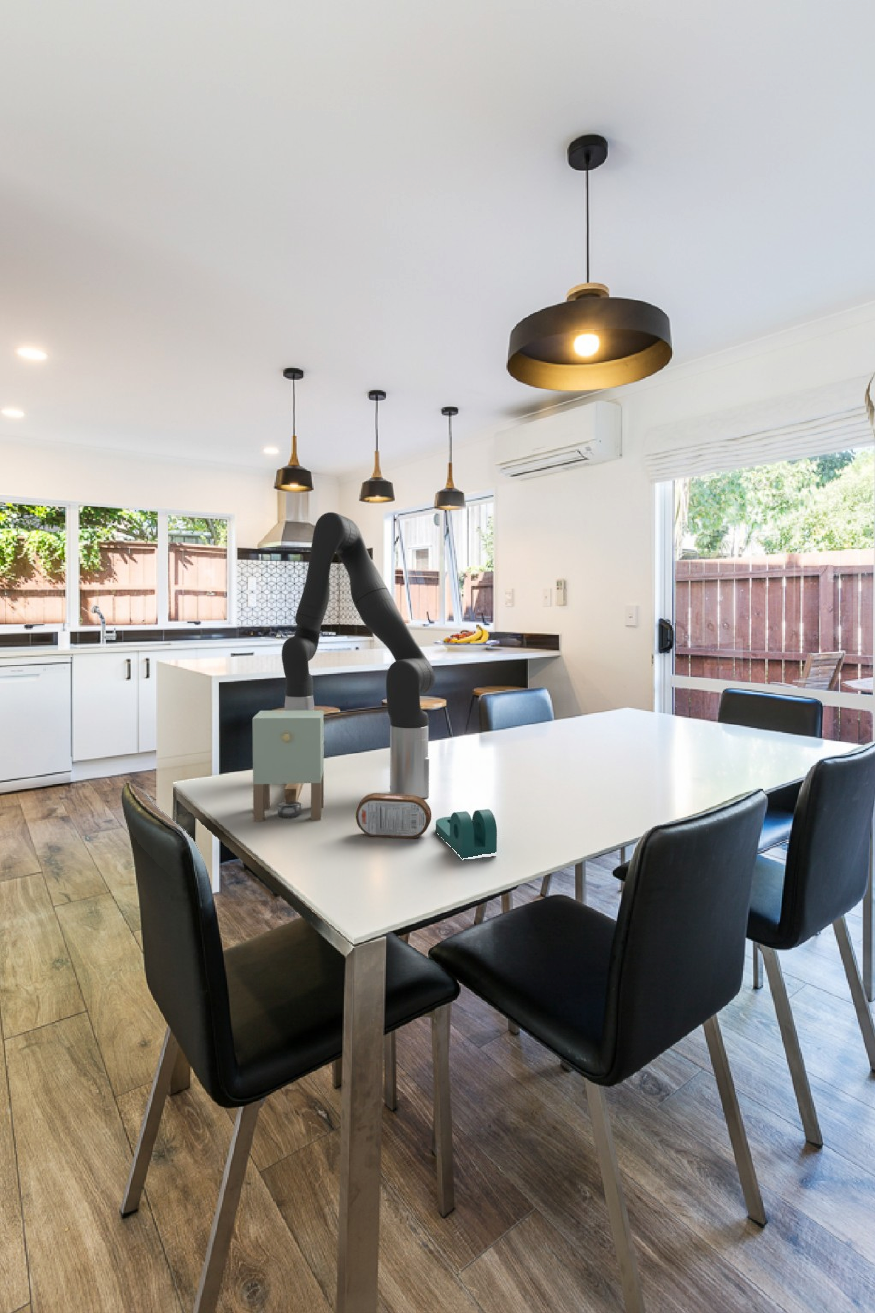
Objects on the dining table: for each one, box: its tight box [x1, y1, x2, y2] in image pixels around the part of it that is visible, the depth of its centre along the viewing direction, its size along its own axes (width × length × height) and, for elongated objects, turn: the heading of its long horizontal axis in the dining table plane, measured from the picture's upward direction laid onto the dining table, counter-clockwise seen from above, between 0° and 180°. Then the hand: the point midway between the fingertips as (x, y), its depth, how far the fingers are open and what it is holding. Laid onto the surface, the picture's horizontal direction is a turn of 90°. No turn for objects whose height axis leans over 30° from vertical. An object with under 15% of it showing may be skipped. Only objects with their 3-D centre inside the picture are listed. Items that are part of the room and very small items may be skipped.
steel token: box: [277, 801, 302, 820], centre depth 139 cm, size 5×5×2 cm
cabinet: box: [252, 709, 325, 822], centre depth 139 cm, size 14×11×22 cm
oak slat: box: [284, 783, 305, 802], centre depth 157 cm, size 2×24×4 cm, turn 7°
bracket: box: [435, 808, 498, 859], centre depth 124 cm, size 18×7×8 cm, turn 18°
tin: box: [355, 792, 432, 839], centre depth 127 cm, size 15×3×8 cm, turn 84°
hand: (299, 777), depth 167 cm, fingers closed on oak slat, 2 cm apart
